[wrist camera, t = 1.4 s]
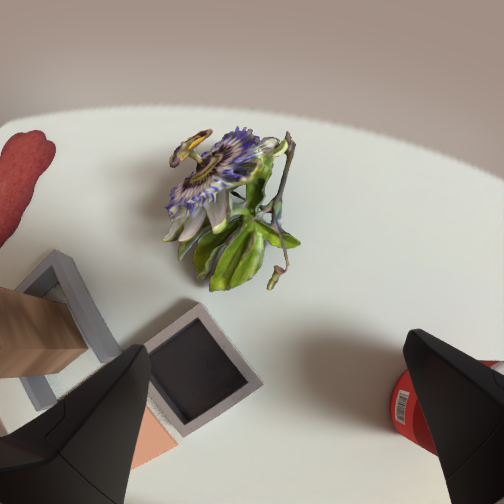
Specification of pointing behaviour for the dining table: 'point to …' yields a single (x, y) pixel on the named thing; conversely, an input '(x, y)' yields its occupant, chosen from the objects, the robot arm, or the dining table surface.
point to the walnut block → (36, 336)
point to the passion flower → (229, 206)
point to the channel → (83, 310)
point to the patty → (21, 176)
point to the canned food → (417, 410)
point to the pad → (151, 440)
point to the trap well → (197, 371)
